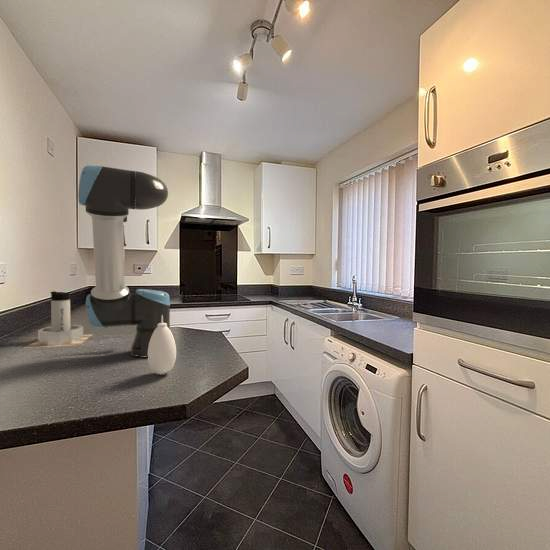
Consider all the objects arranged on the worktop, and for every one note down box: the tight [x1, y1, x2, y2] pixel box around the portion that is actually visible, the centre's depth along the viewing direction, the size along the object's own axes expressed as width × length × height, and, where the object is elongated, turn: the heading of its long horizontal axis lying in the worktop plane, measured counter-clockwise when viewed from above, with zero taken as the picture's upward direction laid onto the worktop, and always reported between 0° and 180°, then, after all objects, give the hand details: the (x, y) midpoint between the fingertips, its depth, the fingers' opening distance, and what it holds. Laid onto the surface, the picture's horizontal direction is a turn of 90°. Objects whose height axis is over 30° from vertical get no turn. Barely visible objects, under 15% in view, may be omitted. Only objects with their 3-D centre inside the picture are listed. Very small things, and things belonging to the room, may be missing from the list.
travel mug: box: [50, 290, 71, 332], centre depth 120 cm, size 6×7×20 cm
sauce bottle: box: [147, 315, 177, 374], centre depth 88 cm, size 8×8×18 cm
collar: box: [37, 324, 84, 346], centre depth 120 cm, size 14×14×5 cm
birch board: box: [23, 333, 94, 349], centre depth 120 cm, size 18×18×1 cm
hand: (117, 259), depth 133 cm, fingers open, 13 cm apart
